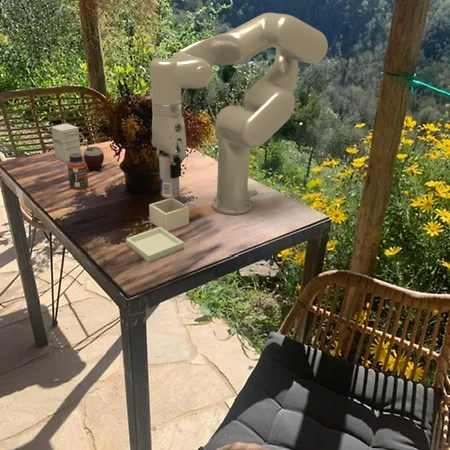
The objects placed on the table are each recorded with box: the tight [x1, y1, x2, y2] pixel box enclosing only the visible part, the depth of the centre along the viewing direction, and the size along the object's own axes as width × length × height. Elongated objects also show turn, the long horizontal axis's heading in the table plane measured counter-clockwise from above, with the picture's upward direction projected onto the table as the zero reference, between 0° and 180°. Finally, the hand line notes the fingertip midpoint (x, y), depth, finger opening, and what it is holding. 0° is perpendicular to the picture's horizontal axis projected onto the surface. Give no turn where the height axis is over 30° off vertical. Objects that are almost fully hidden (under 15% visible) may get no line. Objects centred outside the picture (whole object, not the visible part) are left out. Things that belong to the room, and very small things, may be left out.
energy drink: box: [159, 152, 181, 199], centre depth 126 cm, size 5×5×12 cm
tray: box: [125, 227, 185, 264], centre depth 120 cm, size 11×11×2 cm
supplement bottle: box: [66, 153, 89, 190], centre depth 151 cm, size 6×6×11 cm
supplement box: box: [51, 123, 82, 163], centre depth 175 cm, size 7×7×13 cm
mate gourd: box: [75, 131, 105, 173], centre depth 164 cm, size 8×8×15 cm
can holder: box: [148, 198, 190, 232], centre depth 132 cm, size 8×8×6 cm
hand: (169, 173), depth 126 cm, fingers closed on energy drink, 5 cm apart
